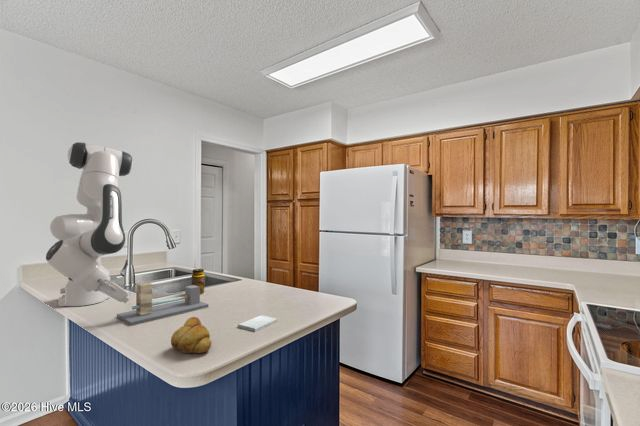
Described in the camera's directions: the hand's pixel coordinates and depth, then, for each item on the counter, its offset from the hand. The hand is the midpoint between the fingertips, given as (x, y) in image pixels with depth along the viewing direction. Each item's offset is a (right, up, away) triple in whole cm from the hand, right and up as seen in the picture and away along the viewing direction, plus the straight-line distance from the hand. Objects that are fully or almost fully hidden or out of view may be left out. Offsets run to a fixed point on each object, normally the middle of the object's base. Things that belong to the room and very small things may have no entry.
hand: (126, 300), depth 116 cm
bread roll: (+34, -8, -23) cm, 42 cm away
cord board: (+9, -8, +11) cm, 16 cm away
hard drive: (+49, -9, -2) cm, 50 cm away
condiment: (+10, -8, +40) cm, 42 cm away
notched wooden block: (+4, -6, +5) cm, 9 cm away
